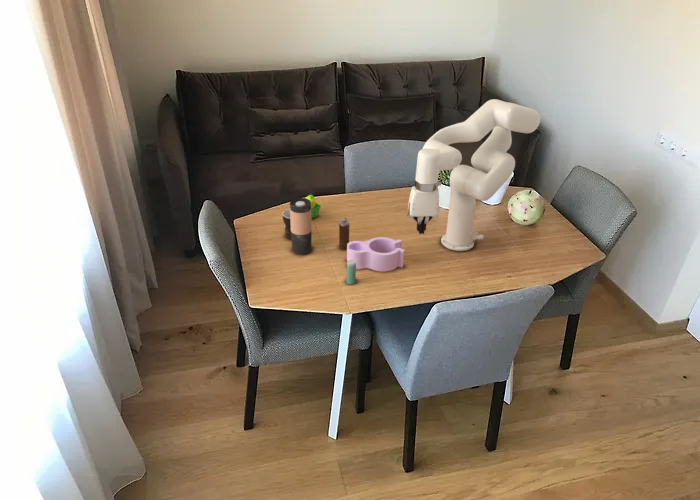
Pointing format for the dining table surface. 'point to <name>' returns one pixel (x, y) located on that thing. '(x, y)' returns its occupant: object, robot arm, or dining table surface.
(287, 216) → the coffee mug
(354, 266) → the green cylinder
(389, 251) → the clip
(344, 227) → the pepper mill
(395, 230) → the dining table surface
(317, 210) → the fruit basket
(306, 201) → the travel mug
